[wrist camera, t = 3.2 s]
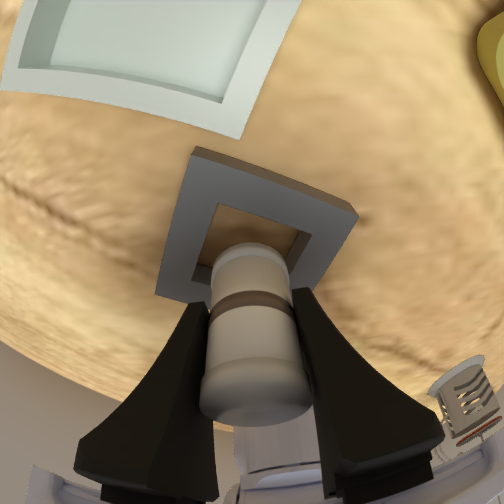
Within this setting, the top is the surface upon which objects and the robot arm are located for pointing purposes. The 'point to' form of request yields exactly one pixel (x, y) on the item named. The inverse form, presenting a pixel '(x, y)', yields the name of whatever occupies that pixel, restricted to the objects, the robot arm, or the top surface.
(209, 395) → the cylinder
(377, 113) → the top surface
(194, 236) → the gray square frame
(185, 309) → the robot arm
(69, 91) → the parts tray
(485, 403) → the french press
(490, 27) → the plastic component
